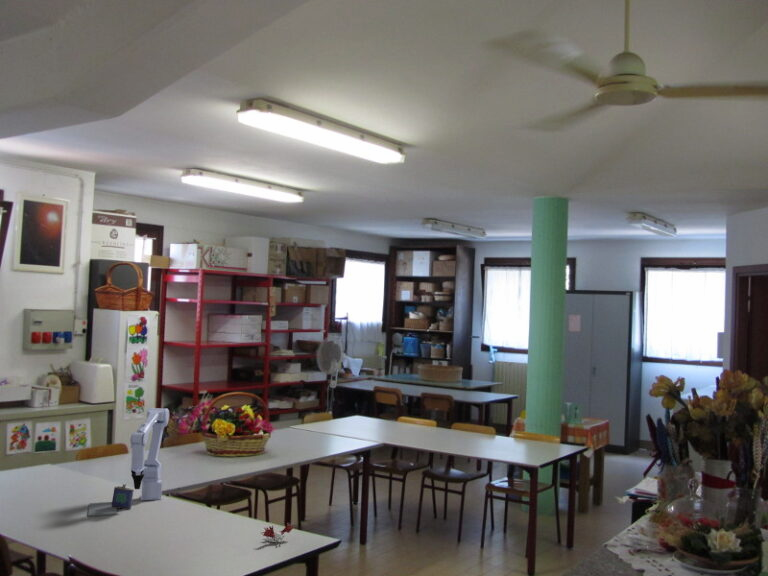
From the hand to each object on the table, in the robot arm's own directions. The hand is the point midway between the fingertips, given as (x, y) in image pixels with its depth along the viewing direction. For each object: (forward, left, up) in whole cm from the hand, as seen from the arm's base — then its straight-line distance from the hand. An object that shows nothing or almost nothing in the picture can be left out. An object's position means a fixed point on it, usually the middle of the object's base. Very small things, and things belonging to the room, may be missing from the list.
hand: (136, 487), depth 338 cm
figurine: (-53, +63, -10) cm, 83 cm away
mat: (+14, 0, -9) cm, 17 cm away
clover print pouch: (+7, 0, -9) cm, 11 cm away
